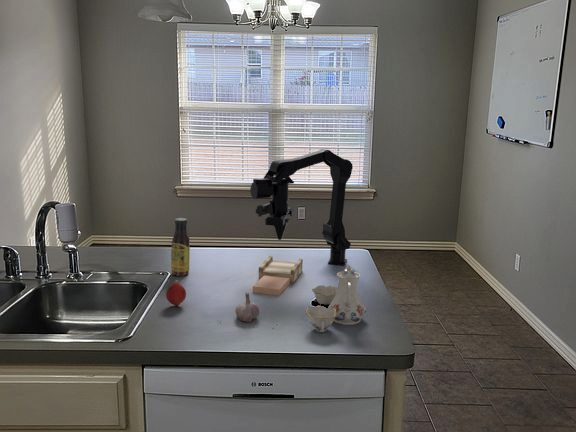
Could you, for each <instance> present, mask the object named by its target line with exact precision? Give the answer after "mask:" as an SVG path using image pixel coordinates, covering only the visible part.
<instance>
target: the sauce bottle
mask: <svg viewBox="0 0 576 432" xmlns="http://www.w3.org/2000/svg"><path fill="white" fill-rule="evenodd" d="M187 223H188V219H187V218H184V217H179V218H178V217H177V218H175V219H174V224H175V229H174V230H175V231H174V235H173V237H172V240H171V249H170V250H171V254H170V255H171V258H170V259H171V263H170V264H171V265H170V267H171V268H170V269H171V274H172V275H173V276H175V275H176V276H175V277H177V276H178V277H184V276H187V275H188V274H189V272H190V254H191V253H190V248H191V247H190V236H189V234H188V233H187V231H188V230H187Z"/></svg>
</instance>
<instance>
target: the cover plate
mask: <svg viewBox="0 0 576 432" xmlns="http://www.w3.org/2000/svg"><path fill="white" fill-rule="evenodd" d="M289 285H291V283H290V278H287V277H279V276H270V275H264V276H263V277H262V278H261V279H260V280H259V279H258V280H257V281H256V282H255V283H254V284H253V285H252V293H257V294H265V295H271V296H281V294H282V293H283V292H284V291H285V290H286V288H287V287H288V286H289Z"/></svg>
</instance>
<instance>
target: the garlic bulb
mask: <svg viewBox="0 0 576 432" xmlns="http://www.w3.org/2000/svg"><path fill="white" fill-rule="evenodd" d="M244 294H245V302H244V303H240V304H238V305H237V306H236V307H235V314H236V317H237V318H238V319H239V320H240V321H243V322H245V323H251V322H252V321H253V320H255V318H257V317H258V316H259V315H260V309H259V305H258V304H257V303H255V302H251V300H250V293H249V292H247V291H246V292H245V293H244Z"/></svg>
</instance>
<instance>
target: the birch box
mask: <svg viewBox="0 0 576 432" xmlns="http://www.w3.org/2000/svg"><path fill="white" fill-rule="evenodd" d="M303 261H304V259H303V258H298V260H297V261H286V260H276V259H275V260H274V259H273V255H269V256H268V257H267V258H266V259H265V260H264V261H263V262H262V263H261V264H260V265H259V266H258V281H259V280H260V279H261V278H262V277H263V276H264V275H270V276H279V277H287V278H290V284H294V283H295V282H296V281H297V279H298V278H299V276H300V274H301V273H302V272H303Z"/></svg>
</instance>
